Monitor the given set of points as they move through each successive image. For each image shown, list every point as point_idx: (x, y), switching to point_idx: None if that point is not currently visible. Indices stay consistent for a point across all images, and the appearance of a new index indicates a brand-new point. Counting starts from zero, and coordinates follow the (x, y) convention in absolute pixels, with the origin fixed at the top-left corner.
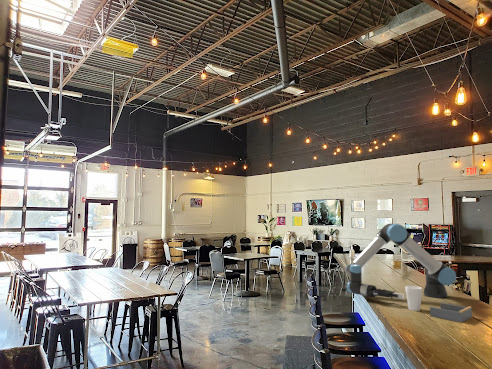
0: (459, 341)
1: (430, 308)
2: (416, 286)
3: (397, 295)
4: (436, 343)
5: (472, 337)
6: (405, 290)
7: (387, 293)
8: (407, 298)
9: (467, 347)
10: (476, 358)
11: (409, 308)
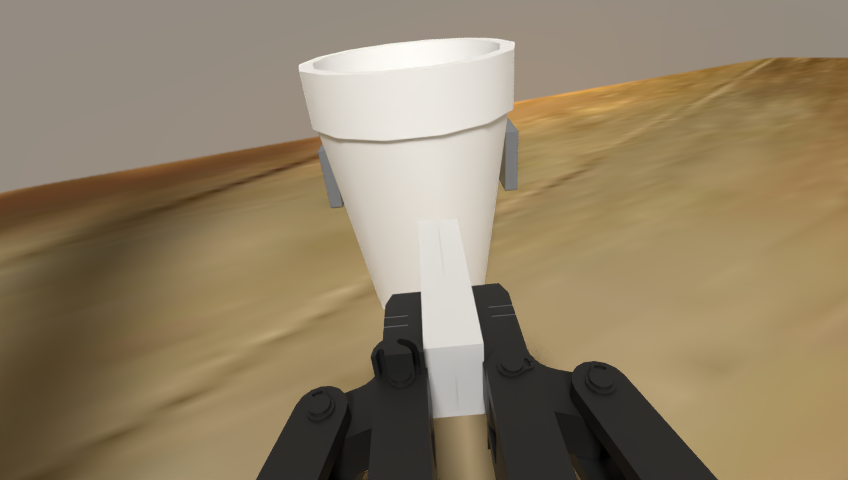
0: (714, 88)
1: (517, 139)
2: (307, 64)
3: (484, 292)
4: (830, 88)
5: (628, 93)
6: (489, 114)
7: (652, 409)
8: (484, 208)
9: (731, 77)
10: (771, 63)
11: None
